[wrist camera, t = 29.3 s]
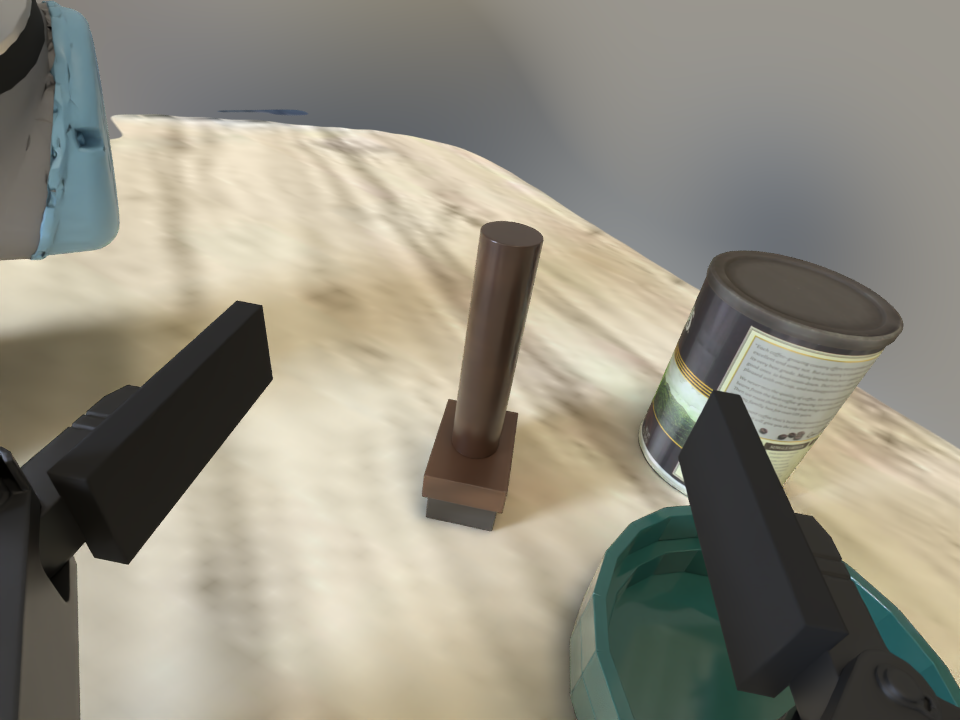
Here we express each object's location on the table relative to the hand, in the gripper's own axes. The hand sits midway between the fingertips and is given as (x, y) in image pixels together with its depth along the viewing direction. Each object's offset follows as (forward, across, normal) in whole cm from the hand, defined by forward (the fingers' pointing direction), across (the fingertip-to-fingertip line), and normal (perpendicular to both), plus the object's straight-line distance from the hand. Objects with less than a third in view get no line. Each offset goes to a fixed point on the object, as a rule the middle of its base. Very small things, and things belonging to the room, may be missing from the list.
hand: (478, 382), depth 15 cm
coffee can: (+17, +17, -16) cm, 29 cm away
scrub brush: (+10, 0, -16) cm, 19 cm away
